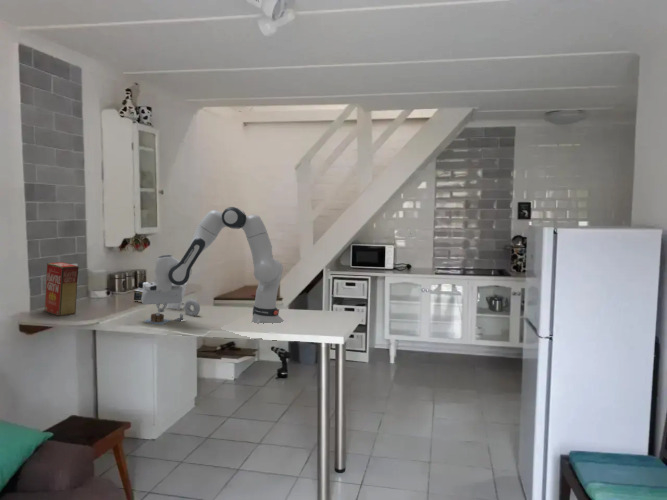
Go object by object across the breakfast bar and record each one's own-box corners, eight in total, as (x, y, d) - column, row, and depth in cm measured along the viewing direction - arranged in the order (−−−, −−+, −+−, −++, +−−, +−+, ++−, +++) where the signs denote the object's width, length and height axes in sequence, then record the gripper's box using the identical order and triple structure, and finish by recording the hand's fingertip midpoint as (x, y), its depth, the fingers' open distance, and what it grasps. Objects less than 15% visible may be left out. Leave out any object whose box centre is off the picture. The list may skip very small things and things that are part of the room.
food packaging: (43, 310, 252) (46, 262, 250) (60, 308, 260) (63, 261, 258) (59, 316, 246) (62, 267, 244) (76, 313, 254) (80, 266, 252)
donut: (181, 315, 276) (183, 297, 275) (185, 314, 279) (187, 297, 278) (196, 318, 272) (198, 301, 272) (200, 317, 276) (202, 300, 275)
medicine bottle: (133, 301, 294) (135, 281, 293) (141, 299, 301) (142, 280, 300) (143, 303, 292) (145, 283, 291) (151, 301, 299) (152, 282, 298)
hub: (170, 322, 260) (171, 312, 259) (161, 326, 250) (162, 316, 249) (152, 319, 261) (153, 309, 260) (143, 323, 251) (143, 313, 250)
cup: (171, 312, 279) (173, 284, 278) (159, 307, 286) (161, 280, 285) (188, 310, 289) (191, 283, 287) (176, 305, 296) (179, 279, 294)
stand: (188, 321, 266) (189, 313, 265) (183, 323, 260) (184, 316, 259) (178, 319, 266) (178, 312, 266) (173, 322, 260) (173, 314, 260)
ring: (161, 318, 260) (162, 313, 259) (164, 321, 254) (164, 316, 254) (149, 319, 256) (150, 313, 256) (152, 322, 251) (152, 316, 251)
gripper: (180, 284, 265) (178, 309, 266) (141, 285, 252) (139, 311, 254) (184, 286, 260) (182, 312, 261) (144, 287, 247) (143, 314, 249)
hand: (160, 311), depth 257 cm, fingers closed
